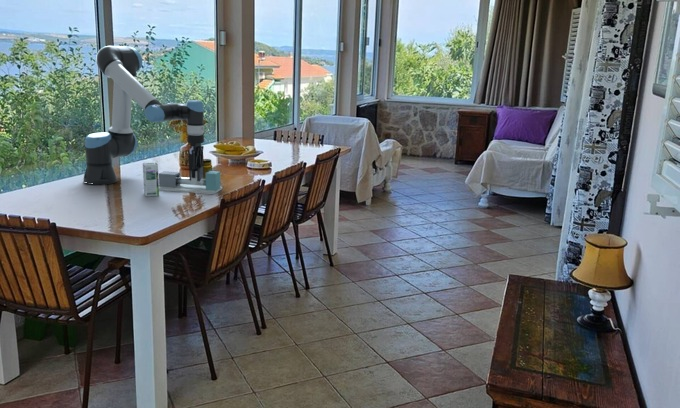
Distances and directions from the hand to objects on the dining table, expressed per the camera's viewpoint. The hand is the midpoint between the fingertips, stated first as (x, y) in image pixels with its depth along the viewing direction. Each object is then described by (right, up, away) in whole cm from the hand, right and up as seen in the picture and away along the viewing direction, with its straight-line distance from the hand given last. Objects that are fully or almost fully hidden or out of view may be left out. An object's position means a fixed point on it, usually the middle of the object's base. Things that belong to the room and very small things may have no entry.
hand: (196, 183), depth 280 cm
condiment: (0, 0, +15) cm, 15 cm away
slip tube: (-3, -1, +1) cm, 4 cm away
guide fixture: (-3, -3, +1) cm, 5 cm away
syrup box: (-17, -6, -12) cm, 22 cm away
